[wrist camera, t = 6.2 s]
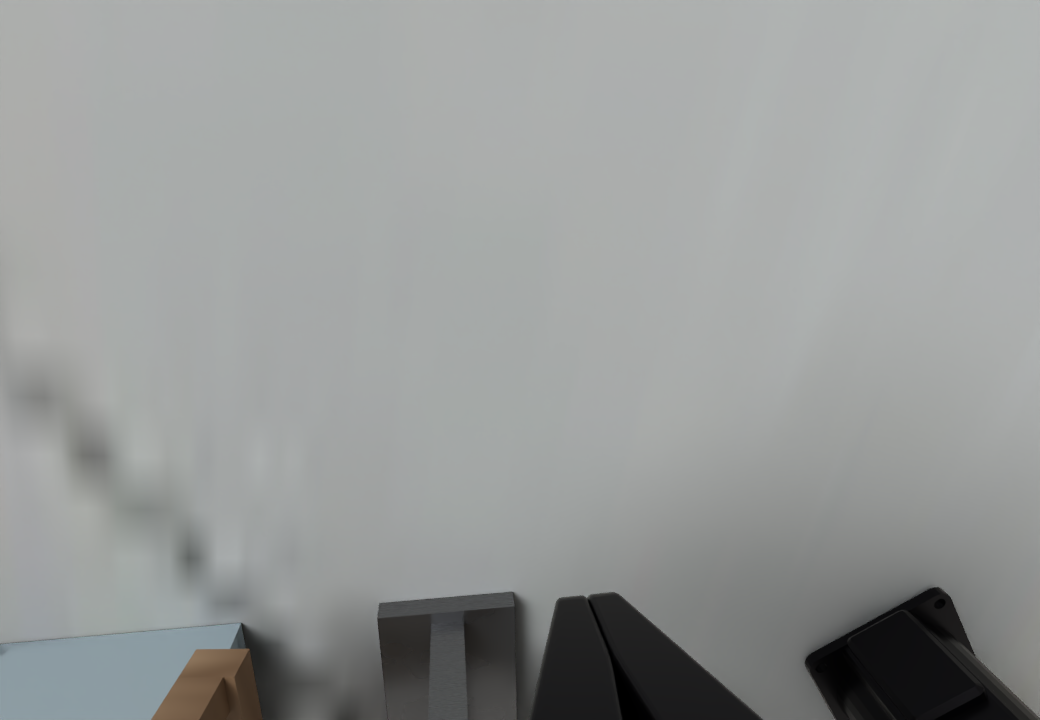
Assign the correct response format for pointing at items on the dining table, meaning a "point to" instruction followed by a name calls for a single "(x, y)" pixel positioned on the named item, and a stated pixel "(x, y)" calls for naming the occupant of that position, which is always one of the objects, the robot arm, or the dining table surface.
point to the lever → (213, 688)
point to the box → (101, 672)
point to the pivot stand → (449, 658)
